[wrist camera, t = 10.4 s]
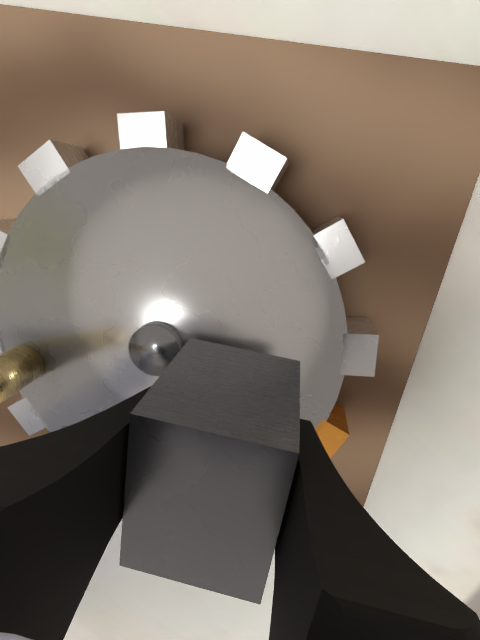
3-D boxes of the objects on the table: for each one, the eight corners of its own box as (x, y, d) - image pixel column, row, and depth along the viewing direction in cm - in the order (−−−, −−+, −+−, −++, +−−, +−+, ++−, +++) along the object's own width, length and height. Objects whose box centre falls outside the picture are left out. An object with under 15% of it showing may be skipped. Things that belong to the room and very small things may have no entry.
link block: (273, 474, 15) (260, 604, 10) (176, 450, 15) (119, 565, 10) (300, 361, 13) (299, 453, 8) (190, 337, 13) (130, 413, 9)
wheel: (433, 405, 15) (500, 509, 10) (136, 518, 20) (79, 630, 15) (239, 23, 12) (195, -104, 7) (-59, 258, 17) (-217, 284, 12)
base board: (340, 548, 20) (343, 565, 19) (0, 460, 22) (-13, 472, 21) (499, 80, 13) (514, 70, 12) (-29, 10, 15) (-51, -3, 14)
